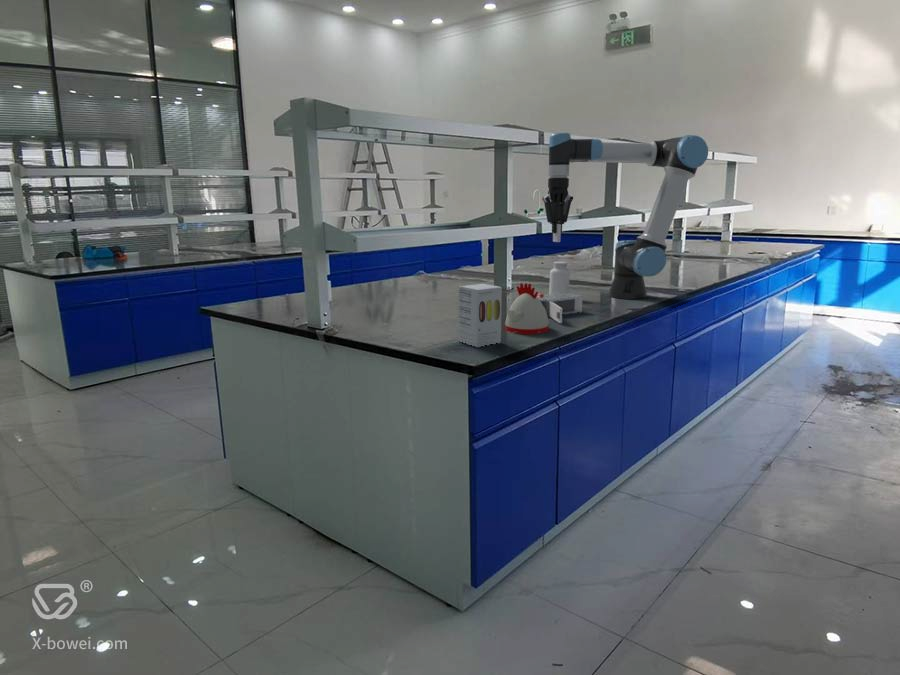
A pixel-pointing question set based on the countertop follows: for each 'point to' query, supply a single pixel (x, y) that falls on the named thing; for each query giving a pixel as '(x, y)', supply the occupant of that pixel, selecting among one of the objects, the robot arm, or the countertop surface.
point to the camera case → (562, 302)
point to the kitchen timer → (527, 313)
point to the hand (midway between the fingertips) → (556, 241)
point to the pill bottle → (559, 278)
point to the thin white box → (555, 312)
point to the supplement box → (480, 314)
